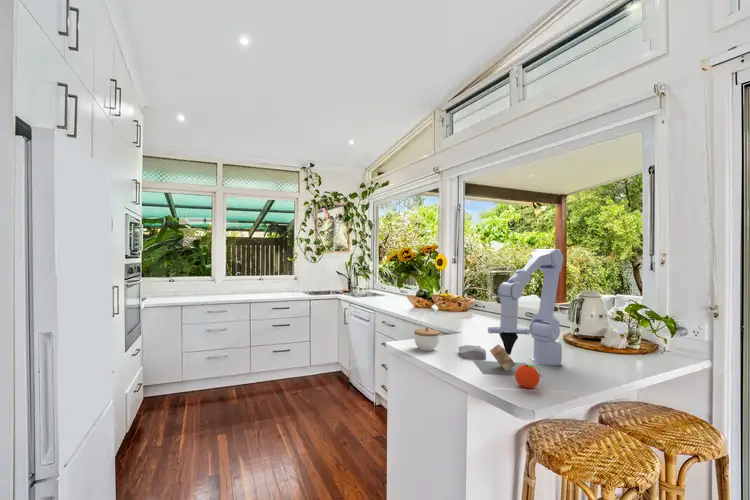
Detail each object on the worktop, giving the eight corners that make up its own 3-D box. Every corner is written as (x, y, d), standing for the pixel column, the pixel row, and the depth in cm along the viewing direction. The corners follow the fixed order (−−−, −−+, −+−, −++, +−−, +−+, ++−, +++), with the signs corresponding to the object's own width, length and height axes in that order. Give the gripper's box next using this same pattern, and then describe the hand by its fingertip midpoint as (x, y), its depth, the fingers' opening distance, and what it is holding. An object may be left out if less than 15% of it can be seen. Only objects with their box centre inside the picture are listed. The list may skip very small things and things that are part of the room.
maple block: (509, 359, 134) (498, 344, 134) (515, 364, 128) (503, 348, 128) (501, 366, 134) (489, 350, 134) (506, 371, 128) (494, 354, 128)
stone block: (463, 364, 142) (488, 360, 142) (461, 352, 142) (486, 348, 142) (456, 357, 154) (480, 353, 154) (454, 346, 154) (478, 342, 154)
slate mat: (525, 363, 139) (525, 362, 139) (543, 377, 123) (543, 376, 123) (472, 361, 140) (472, 360, 140) (483, 374, 124) (483, 373, 124)
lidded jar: (429, 345, 164) (430, 324, 164) (444, 351, 154) (444, 328, 154) (409, 347, 159) (409, 325, 159) (422, 353, 149) (423, 330, 150)
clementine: (533, 383, 117) (534, 361, 117) (547, 391, 110) (547, 367, 110) (510, 384, 115) (511, 361, 115) (522, 392, 108) (523, 368, 109)
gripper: (523, 314, 135) (522, 351, 135) (485, 313, 135) (484, 350, 134) (532, 317, 128) (531, 356, 128) (492, 316, 128) (490, 355, 127)
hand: (507, 354), depth 131 cm, fingers closed
